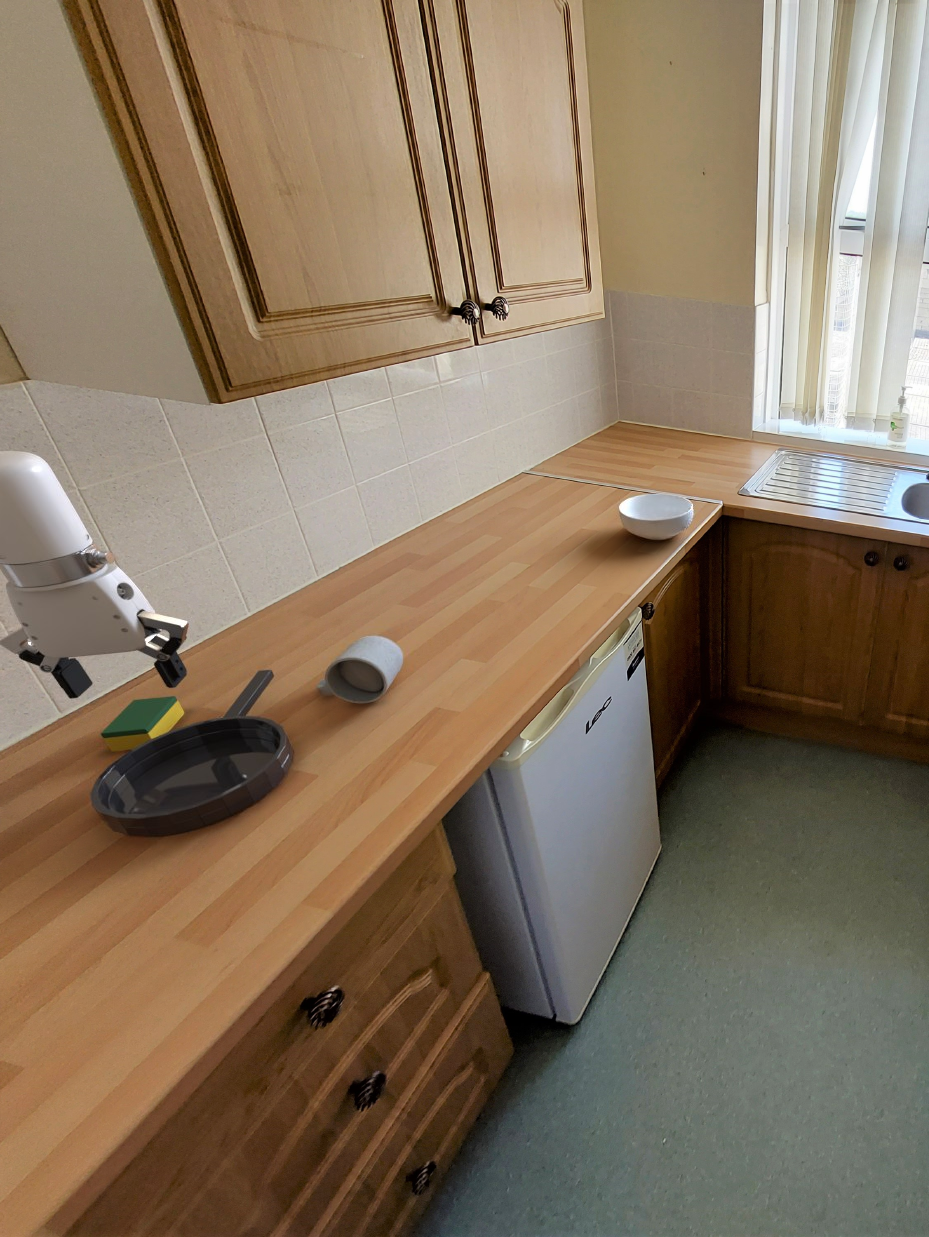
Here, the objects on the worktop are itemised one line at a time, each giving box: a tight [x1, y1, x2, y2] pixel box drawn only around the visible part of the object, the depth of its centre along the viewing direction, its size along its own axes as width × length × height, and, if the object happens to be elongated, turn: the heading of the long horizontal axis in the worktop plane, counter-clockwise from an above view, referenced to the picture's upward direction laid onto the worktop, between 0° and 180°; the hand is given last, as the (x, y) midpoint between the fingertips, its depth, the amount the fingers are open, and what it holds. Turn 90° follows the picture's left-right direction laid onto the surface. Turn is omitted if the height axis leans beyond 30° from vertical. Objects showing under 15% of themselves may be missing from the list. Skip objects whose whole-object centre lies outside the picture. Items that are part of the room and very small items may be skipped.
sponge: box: [100, 695, 185, 753], centre depth 84 cm, size 4×7×3 cm, turn 17°
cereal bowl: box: [618, 493, 694, 541], centre depth 150 cm, size 17×17×7 cm
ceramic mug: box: [316, 634, 404, 705], centre depth 93 cm, size 11×8×8 cm
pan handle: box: [222, 669, 275, 717], centre depth 88 cm, size 2×11×1 cm, turn 17°
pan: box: [89, 715, 295, 838], centre depth 77 cm, size 17×17×4 cm
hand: (130, 686), depth 81 cm, fingers open, 9 cm apart
